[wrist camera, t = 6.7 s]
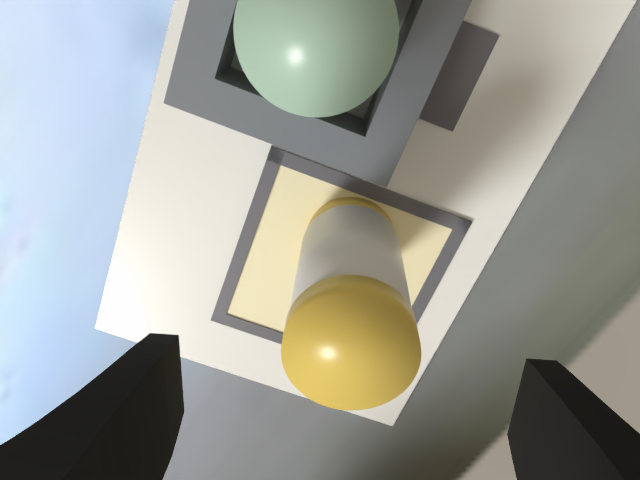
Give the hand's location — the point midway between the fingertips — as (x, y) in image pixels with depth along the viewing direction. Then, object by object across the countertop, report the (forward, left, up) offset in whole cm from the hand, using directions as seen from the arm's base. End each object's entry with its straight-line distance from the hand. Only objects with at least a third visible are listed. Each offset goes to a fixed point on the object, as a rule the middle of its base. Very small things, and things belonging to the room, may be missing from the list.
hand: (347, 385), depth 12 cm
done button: (+6, +1, -8) cm, 10 cm away
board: (+1, +1, -10) cm, 10 cm away
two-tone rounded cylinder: (-1, 0, -9) cm, 9 cm away
